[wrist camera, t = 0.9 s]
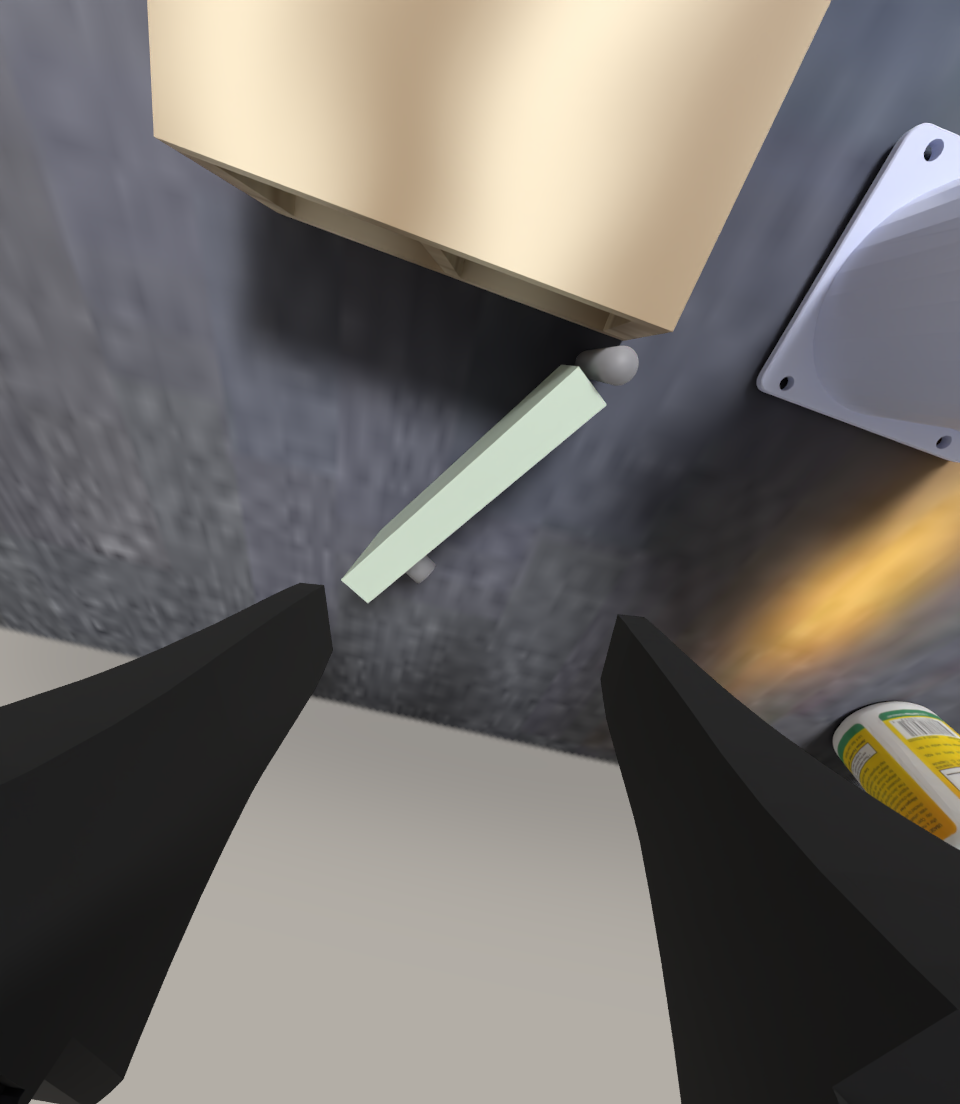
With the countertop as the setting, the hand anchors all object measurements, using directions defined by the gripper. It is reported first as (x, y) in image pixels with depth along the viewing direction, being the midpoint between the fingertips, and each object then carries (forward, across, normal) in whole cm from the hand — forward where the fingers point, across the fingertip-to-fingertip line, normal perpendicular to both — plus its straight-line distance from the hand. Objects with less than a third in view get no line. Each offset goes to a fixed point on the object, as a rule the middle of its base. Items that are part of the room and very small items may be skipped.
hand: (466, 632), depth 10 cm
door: (+10, 0, -2) cm, 10 cm away
